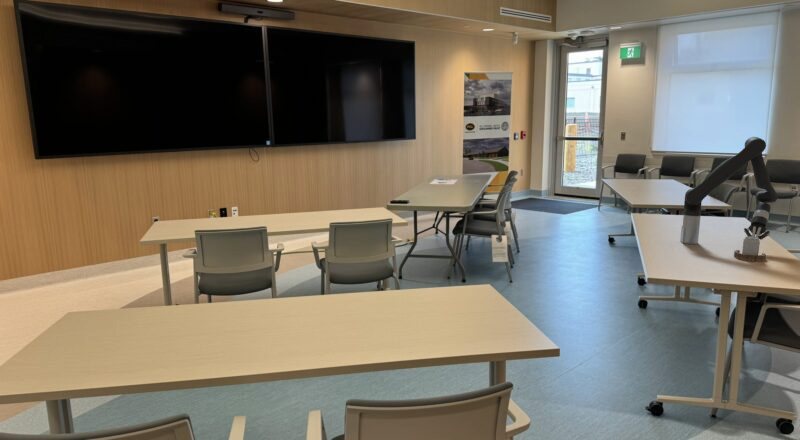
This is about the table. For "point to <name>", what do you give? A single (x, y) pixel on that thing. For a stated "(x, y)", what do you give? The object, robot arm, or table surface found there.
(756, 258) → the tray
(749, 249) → the can
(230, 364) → the table surface
